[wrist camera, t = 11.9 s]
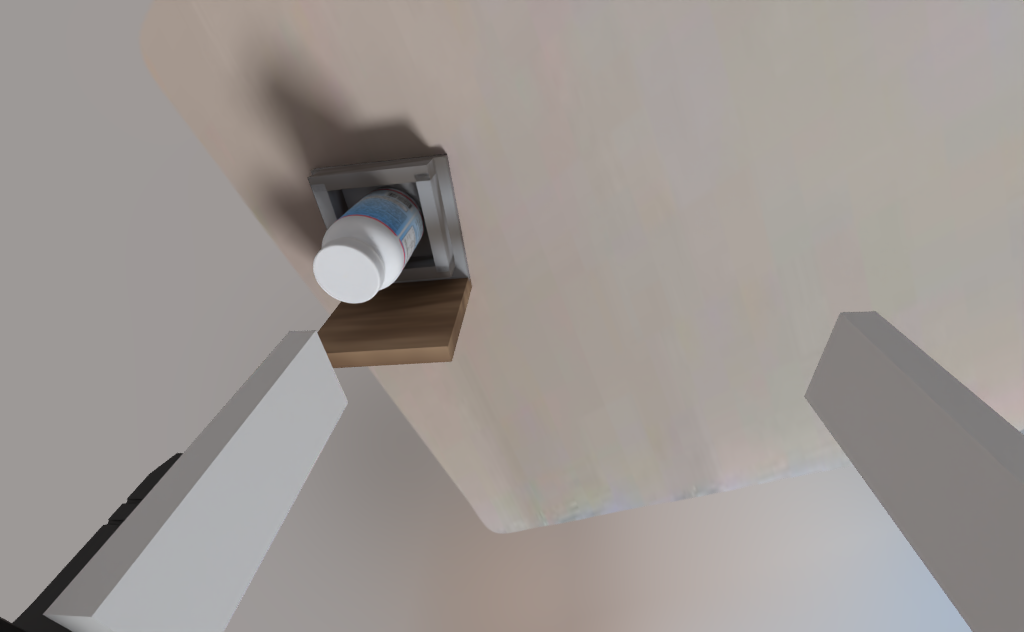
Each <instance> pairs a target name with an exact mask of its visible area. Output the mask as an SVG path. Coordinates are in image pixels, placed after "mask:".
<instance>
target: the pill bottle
mask: <svg viewBox="0 0 1024 632" xmlns="http://www.w3.org/2000/svg"><path fill="white" fill-rule="evenodd" d="M423 232H424V217H423V214H422V211H421V209H420V207H419V206H418V204H417V203H416V202H415V201H414V200H413V199H412V198H411V197H410V196H409V195H407V194H406V193H404V192H402V191H400V190H397V189H394V188H379V189H376V190H374V191H372V192H370V193H369V194H367V195H366V196H365V197H363V198H362V199H361V200H360V201H359V202H358V203H356V204H355V205H354V206H353V207H352V208H351V209H349V210H348V211H347V212H346V213H345V214H344V215H342V216H341V217H340V218H339V219H338V220H337V221H336V222H334V223H333V224H332V225H331V226H330V227H329V229H328V230H327V231H326V233H325V235H324V237H323V241H322V249H321V250H320V251H319V252H318V253H317V254H316V256H315V258H314V262H313V271H314V275H315V278H316V280H317V282H318V283H319V285H320V286H321V287H322V289H323V290H324V291H325V292H326V293H328V294H329V295H330V296H332V297H334V298H335V299H337V300H340V301H342V302H347V303H362V302H366V301H368V300H370V299H371V298H373V297H374V296H375V295H376V293H377V292H378V291H379V290H382V289H384V288H386V287H388V286H390V285H391V284H392V283H393V282H394V281H395V280H396V279H397V278H398V276H399V275H400V274H401V272H402V270H403V268H404V267H405V265H406V263H407V262H408V260H409V258H410V257H411V255H412V253H413V251H414V250H415V248H416V246H417V245H418V243H419V241H420V240H421V237H422V235H423Z"/></svg>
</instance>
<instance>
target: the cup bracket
mask: <svg viewBox="0 0 1024 632" xmlns="http://www.w3.org/2000/svg"><path fill="white" fill-rule="evenodd" d="M311 173H312V175H311V176H310V177H308V180H309V183H310V185H311V188H312V191H313V193H314V196H315V199H316V201H317V204H318V207H319V210H320V212H321V215H322V218H323V220H324V223H325V226H326V228H327V230H328V229H329V227H330V226H331V225H332V224H333V223H334V222H336V221H337V220H338V219H339V218H340V217H341V216H342V215H344V214H345V213H346V212H347V211H348V210H349V209H351V208H352V207H353V206H354V205H355V204H356V203H358V202H359V201H360V200H361V199H362V198H363V197H365V196H366V195H367V194H369V193H370V192H372V191H374V190H376V189H379V188H394V189H397V190H400V191H402V192H404V193H406V194H407V195H409V196H410V197H411V198H412V199H413V200H414V201H415V202H416V203H417V204H418V206H419V207H420V209H421V211H422V214H423V217H424V232H423V235H422V237H421V240H420V241H419V243H418V245H417V246H416V248H415V250H414V251H413V253H412V255H411V257H410V258H409V260H408V262H407V263H406V265H405V267H404V268H403V270H402V272H401V274H400V275H399V276H398V278H397V279H396V280H395V281H394V282H393V283H392V284H391V285H390V286H388V287H386V288H384V289H382V290H379V291H378V292H377V293H376V295H375V296H374V297H373V298H371V299H370V300H368V301H366V302H362V303H347V302H342V301H341V303H340V304H339V305H338V307H337V308H336V309H335V310H334V312H333V313H332V314H331V316H330V317H329V318H328V320H327V321H326V322H325V323H324V325H323V326H322V327H321V329H320V330H319V331H318V332H317V333H318V336H319V338H320V340H321V342H322V345H323V347H324V349H325V351H326V354H327V356H328V358H329V361H330V363H331V365H332V367H333V368H343V367H362V366H380V365H398V364H416V363H433V362H451V361H452V358H453V355H454V351H455V347H456V344H457V340H458V336H459V333H460V329H461V325H462V322H463V318H464V314H465V310H466V307H467V303H468V299H469V296H470V292H471V288H472V285H471V280H470V274H469V269H468V264H467V258H466V253H465V248H464V242H463V237H462V232H461V226H460V221H459V215H458V210H457V205H456V199H455V194H454V189H453V183H452V178H451V173H450V167H449V162H448V157H447V154H446V155H437V156H427V157H418V158H409V159H400V160H391V161H382V162H372V163H363V164H354V165H345V166H336V167H326V168H317V169H314V170H312V171H311Z"/></svg>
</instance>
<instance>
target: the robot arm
mask: <svg viewBox="0 0 1024 632" xmlns="http://www.w3.org/2000/svg"><path fill="white" fill-rule="evenodd" d="M804 397H805V398H806V399H807V401H808V402H809V404H810V405H811V406H812V408H813V409H814V411H815V412H816V413H817V415H818V416H819V418H820V419H821V420H822V422H823V423H824V425H825V426H826V427H827V429H828V430H829V432H830V433H831V434H832V436H833V437H834V439H835V440H836V441H837V443H838V444H839V446H840V447H841V448H842V450H843V451H844V453H845V454H846V455H847V457H848V458H849V459H850V461H851V462H852V464H853V465H854V466H855V468H856V469H857V471H858V472H859V473H860V475H861V476H862V478H863V479H864V480H865V482H866V483H867V485H868V486H869V487H870V489H871V490H872V492H873V493H874V494H875V496H876V497H877V499H878V500H879V501H880V503H881V504H882V506H883V507H884V508H885V510H886V511H887V512H888V514H889V515H890V517H891V518H892V520H893V521H894V522H895V524H896V525H897V527H898V528H899V529H900V531H901V532H902V534H903V535H904V536H905V538H906V539H907V541H908V542H909V543H910V545H911V546H912V547H913V549H914V550H915V552H916V553H917V555H918V556H919V557H920V559H921V560H922V561H923V563H924V564H925V566H926V567H927V568H928V570H929V571H930V573H931V574H932V575H933V577H934V578H935V580H936V581H937V582H938V584H939V585H940V587H941V588H942V589H943V591H944V592H945V594H946V595H947V596H948V598H949V599H950V601H951V602H952V603H953V605H954V606H955V608H956V609H957V610H958V612H959V613H960V614H961V616H962V617H963V619H964V620H965V622H966V623H967V624H968V626H969V627H970V629H971V630H972V631H973V632H1024V435H1023V434H1022V433H1021V432H1019V431H1018V430H1017V429H1016V428H1015V427H1013V426H1012V425H1011V424H1010V423H1009V422H1007V421H1006V420H1005V419H1004V418H1003V417H1001V416H1000V415H999V414H998V413H997V412H995V411H994V410H993V409H992V408H991V407H989V406H988V405H987V404H986V403H985V402H983V401H982V400H981V399H980V398H979V397H977V396H976V395H975V394H974V393H973V392H971V391H970V390H969V389H968V388H967V387H965V386H964V385H963V384H962V383H961V382H959V381H958V380H957V379H956V378H955V377H954V376H952V375H951V374H950V373H949V372H948V371H946V370H945V369H944V368H943V367H942V366H940V365H939V364H938V363H937V362H936V361H934V360H933V359H932V358H931V357H930V356H928V355H927V354H926V353H925V352H924V351H922V350H921V349H920V348H919V347H918V346H916V345H915V344H914V343H913V342H912V341H910V340H909V339H908V338H907V337H906V336H904V335H903V334H902V333H901V332H900V331H898V330H897V329H896V328H895V327H894V326H893V325H891V324H890V323H889V322H888V321H887V320H885V319H884V318H883V317H882V316H881V315H879V314H878V313H877V312H876V311H873V312H843V313H840V314H839V317H838V319H837V321H836V324H835V326H834V328H833V331H832V333H831V335H830V338H829V340H828V342H827V345H826V347H825V349H824V352H823V354H822V356H821V359H820V361H819V363H818V366H817V368H816V370H815V373H814V375H813V377H812V380H811V382H810V384H809V387H808V389H807V391H806V394H805V396H804ZM347 404H348V401H347V399H346V397H345V395H344V392H343V390H342V388H341V385H340V383H339V381H338V379H337V376H336V374H335V372H334V370H333V367H332V365H331V363H330V361H329V358H328V356H327V354H326V351H325V349H324V347H323V345H322V342H321V340H320V338H319V336H318V333H317V331H316V330H311V331H290V332H289V333H288V334H287V335H286V336H285V337H284V338H283V339H282V341H281V342H280V343H279V344H278V345H277V346H276V348H275V349H274V350H273V351H272V352H271V353H270V354H269V356H268V357H267V358H266V359H265V360H264V361H263V363H262V364H261V365H260V366H259V367H258V368H257V369H256V371H255V372H254V373H253V374H252V375H251V376H250V377H249V379H248V380H247V381H246V382H245V383H244V384H243V385H242V387H241V388H240V389H239V390H238V391H237V392H236V393H235V395H234V396H233V397H232V398H231V399H230V400H229V401H228V403H227V404H226V405H225V406H224V407H223V408H222V409H221V411H220V412H219V413H218V414H217V415H216V416H215V417H214V419H213V420H212V421H211V422H210V423H209V424H208V426H207V427H206V428H205V429H204V430H203V431H202V433H201V434H200V435H199V436H198V437H197V438H196V440H195V441H194V442H193V443H192V444H191V445H190V446H189V447H188V449H187V450H186V451H185V452H184V453H177V454H176V455H174V456H173V457H171V458H170V459H169V460H167V461H166V462H165V463H163V464H162V465H161V466H159V467H158V468H157V469H156V470H154V471H153V472H152V473H150V474H149V475H148V476H147V477H146V478H145V480H144V481H143V482H142V483H141V484H140V485H139V486H138V487H137V488H136V490H135V491H134V492H133V493H132V494H131V495H130V496H129V497H128V499H127V500H128V501H127V503H126V504H122V505H121V506H120V507H119V508H118V509H117V510H116V512H115V513H114V514H113V515H112V516H111V517H110V518H109V519H108V520H109V522H108V524H107V525H103V526H102V527H101V528H100V529H99V530H98V532H96V534H95V535H94V536H93V537H92V538H91V539H90V540H89V541H88V542H87V544H86V545H85V546H84V547H83V548H82V549H81V550H80V551H79V552H78V553H77V555H76V556H75V557H74V558H73V559H72V560H71V561H70V562H69V563H68V564H67V566H66V567H65V568H64V569H63V570H62V571H61V572H60V573H59V574H58V575H57V577H56V578H55V579H54V580H53V581H52V582H51V583H50V584H49V586H47V588H46V589H45V590H44V591H43V592H42V593H41V594H40V595H39V596H38V597H37V599H36V600H35V601H34V602H33V603H32V604H31V605H30V606H29V607H28V608H27V609H26V610H25V611H24V612H23V613H22V614H21V615H20V616H19V617H18V618H17V619H16V620H15V621H14V622H13V623H10V622H9V621H7V620H5V619H3V618H1V617H0V632H224V630H225V628H226V627H227V625H228V623H229V621H230V619H231V617H232V616H233V614H234V612H235V610H236V608H237V606H238V604H239V603H240V601H241V599H242V597H243V595H244V593H245V592H246V590H247V588H248V586H249V584H250V582H251V580H252V579H253V577H254V575H255V573H256V571H257V569H258V568H259V566H260V563H261V562H262V560H263V558H264V557H265V555H266V553H267V551H268V549H269V547H270V545H271V543H272V542H273V540H274V538H275V536H276V534H277V533H278V531H279V529H280V527H281V525H282V523H283V522H284V520H285V518H286V516H287V514H288V512H289V510H290V509H291V507H292V505H293V503H294V501H295V499H296V498H297V496H298V494H299V492H300V490H301V488H302V486H303V484H304V483H305V481H306V479H307V477H308V475H309V474H310V472H311V470H312V468H313V466H314V464H315V462H316V461H317V459H318V457H319V455H320V453H321V451H322V450H323V448H324V446H325V444H326V442H327V440H328V438H329V437H330V435H331V433H332V431H333V429H334V427H335V426H336V424H337V422H338V420H339V418H340V416H341V415H342V413H343V411H344V409H345V407H346V405H347Z"/></svg>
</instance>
